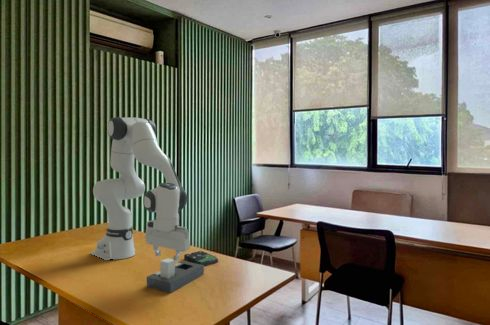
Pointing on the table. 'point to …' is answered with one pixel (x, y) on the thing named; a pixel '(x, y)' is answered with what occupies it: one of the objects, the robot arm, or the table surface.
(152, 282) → the panel
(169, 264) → the plug
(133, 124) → the robot arm
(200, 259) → the disk drive
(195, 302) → the table surface
